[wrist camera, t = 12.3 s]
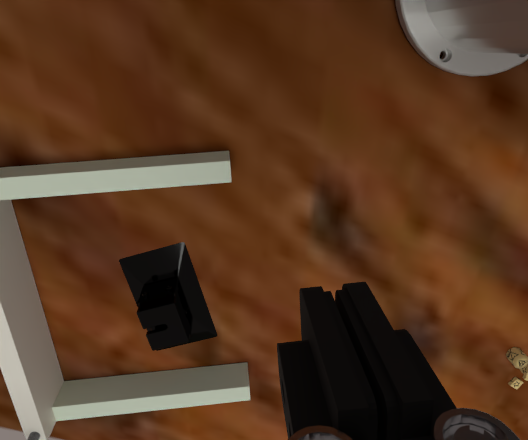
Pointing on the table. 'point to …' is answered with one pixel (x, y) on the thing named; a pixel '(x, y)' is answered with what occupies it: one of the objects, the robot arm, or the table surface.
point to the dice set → (518, 365)
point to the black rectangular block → (168, 297)
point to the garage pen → (33, 318)
